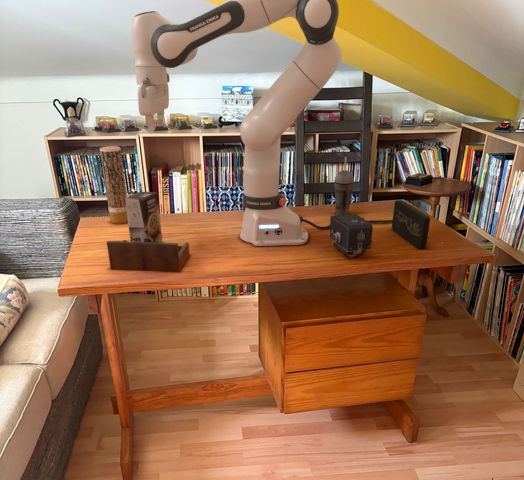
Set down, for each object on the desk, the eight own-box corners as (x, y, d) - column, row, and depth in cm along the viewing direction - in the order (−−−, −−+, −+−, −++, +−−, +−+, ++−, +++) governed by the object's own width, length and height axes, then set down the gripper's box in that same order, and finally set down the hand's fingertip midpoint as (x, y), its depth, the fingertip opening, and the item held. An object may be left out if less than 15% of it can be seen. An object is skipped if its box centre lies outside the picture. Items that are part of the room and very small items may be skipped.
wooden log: (132, 218, 195) (123, 146, 182) (126, 224, 189) (116, 150, 176) (114, 218, 195) (103, 146, 183) (107, 224, 190) (96, 149, 177)
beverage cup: (331, 216, 197) (335, 159, 187) (332, 210, 203) (336, 155, 193) (351, 216, 196) (356, 159, 186) (351, 211, 202) (356, 155, 192)
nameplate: (391, 228, 184) (395, 199, 179) (396, 228, 184) (400, 199, 179) (419, 249, 166) (424, 217, 161) (425, 249, 167) (430, 217, 162)
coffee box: (148, 252, 165) (142, 199, 157) (130, 249, 167) (123, 197, 159) (163, 242, 173) (158, 192, 164) (146, 240, 175) (140, 190, 166)
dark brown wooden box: (189, 255, 163) (187, 229, 159) (179, 271, 152) (177, 244, 148) (125, 252, 165) (121, 227, 161) (110, 269, 153) (106, 242, 149)
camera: (374, 261, 161) (351, 240, 172) (380, 225, 154) (356, 206, 166) (342, 265, 158) (321, 244, 169) (347, 229, 151) (325, 209, 163)
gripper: (152, 80, 147) (157, 134, 154) (170, 75, 165) (174, 123, 172) (129, 80, 148) (135, 133, 155) (150, 75, 165) (155, 123, 172)
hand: (156, 128), depth 163 cm, fingers open, 8 cm apart
